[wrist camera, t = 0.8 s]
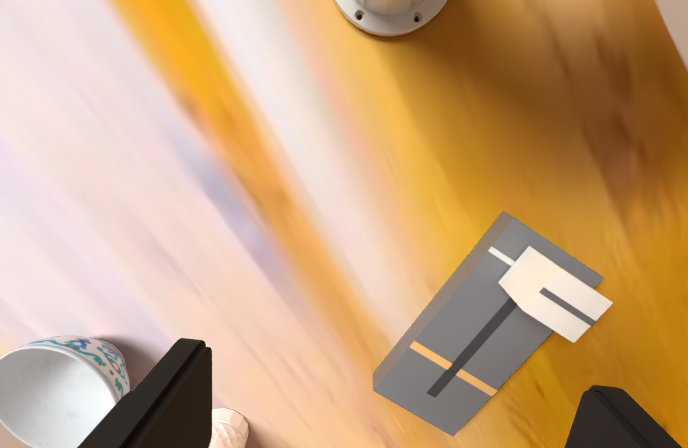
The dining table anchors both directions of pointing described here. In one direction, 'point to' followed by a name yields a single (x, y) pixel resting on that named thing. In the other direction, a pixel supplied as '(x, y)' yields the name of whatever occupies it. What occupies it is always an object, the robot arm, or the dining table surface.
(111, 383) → the chinaware
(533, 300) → the fader tab
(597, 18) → the dining table surface
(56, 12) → the dining table surface
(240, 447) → the white cup
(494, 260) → the board
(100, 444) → the robot arm
